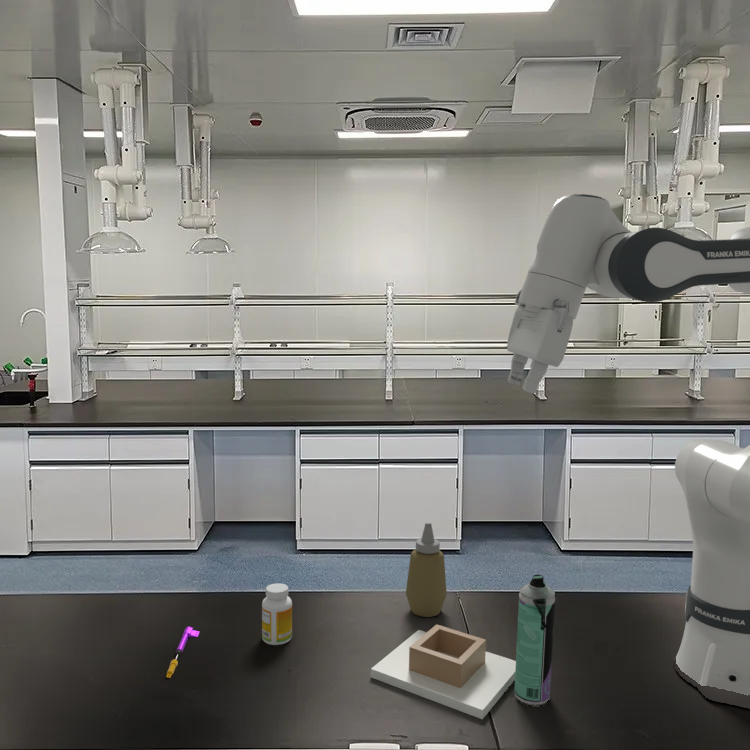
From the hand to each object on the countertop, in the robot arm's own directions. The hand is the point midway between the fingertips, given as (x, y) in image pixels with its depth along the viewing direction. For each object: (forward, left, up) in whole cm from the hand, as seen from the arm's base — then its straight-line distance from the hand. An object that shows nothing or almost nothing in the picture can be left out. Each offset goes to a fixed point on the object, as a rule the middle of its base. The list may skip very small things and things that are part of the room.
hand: (520, 387), depth 108 cm
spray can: (-4, -1, -49) cm, 50 cm away
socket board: (+10, +1, -49) cm, 50 cm away
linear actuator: (+51, +21, -50) cm, 74 cm away
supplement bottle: (+41, +8, -49) cm, 65 cm away
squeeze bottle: (+24, -17, -49) cm, 57 cm away
